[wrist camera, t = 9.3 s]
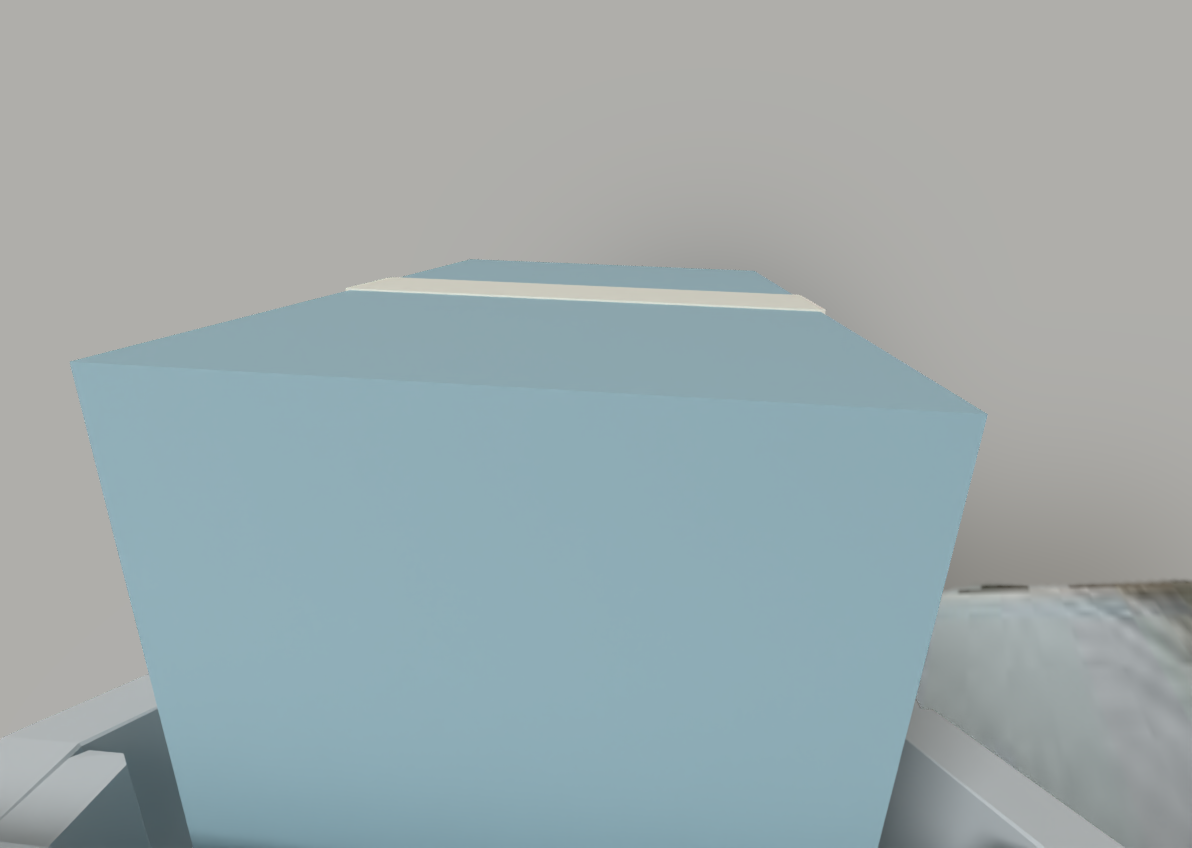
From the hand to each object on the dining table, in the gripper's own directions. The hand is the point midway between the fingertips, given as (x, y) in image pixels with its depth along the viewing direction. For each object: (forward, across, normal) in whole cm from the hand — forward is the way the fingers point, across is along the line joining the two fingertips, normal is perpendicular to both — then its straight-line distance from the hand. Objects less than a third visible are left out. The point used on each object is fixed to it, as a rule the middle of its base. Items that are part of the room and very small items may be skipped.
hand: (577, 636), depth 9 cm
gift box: (0, 0, +7) cm, 7 cm away
